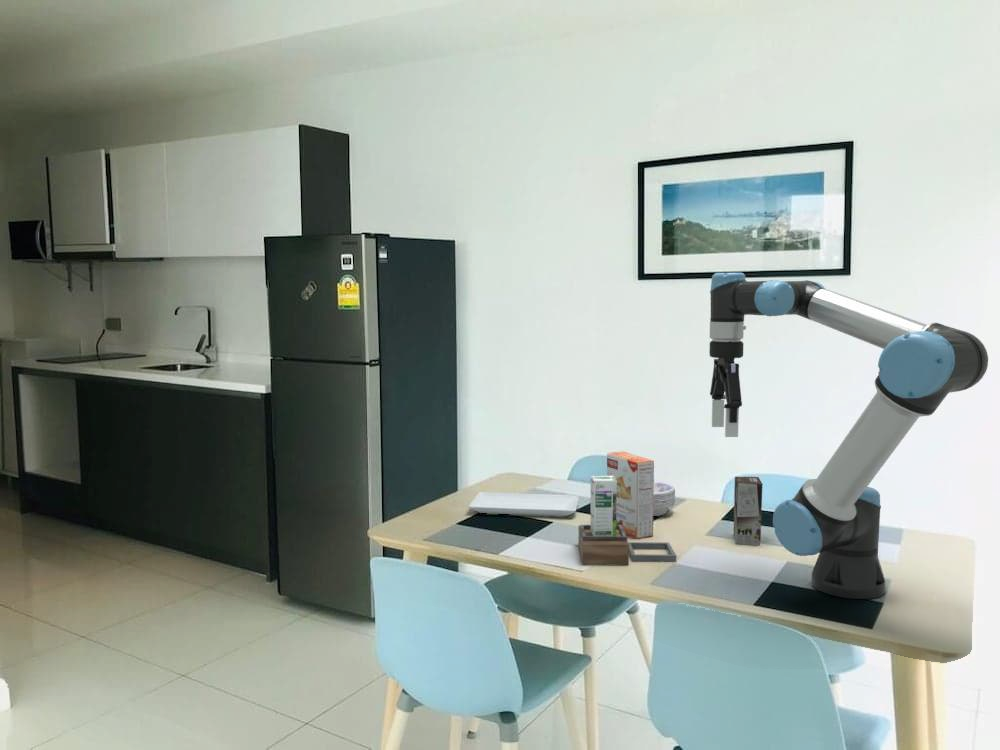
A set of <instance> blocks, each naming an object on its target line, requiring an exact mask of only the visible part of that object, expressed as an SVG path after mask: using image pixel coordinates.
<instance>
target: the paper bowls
mask: <svg viewBox="0 0 1000 750" xmlns="http://www.w3.org/2000/svg"><path fill="white" fill-rule="evenodd" d="M674 505H676V488H675V487H674V486H673V485H671V484H669V483H664V482H657V481H654V494H653V516H657V517H661V515H662V516H664V515H666V514H667V512H668V510H669V508H671V507H673V506H674Z"/></svg>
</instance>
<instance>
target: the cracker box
mask: <svg viewBox="0 0 1000 750" xmlns="http://www.w3.org/2000/svg"><path fill="white" fill-rule="evenodd" d="M654 469H655V460H653V459H649V458H645V457H642V456H639V455H636V454H633V453H630V452H626V451H615V452H613V451H612V452H609V453H608V452H607V453H606V476H612V475H613V476H614V477H615V479H616V481H617V508H616V525H622V527H623V529H624V532H625V534H626V536H630V537H632V538H633V539H635V538H636V539H635V540H639V539H643V538H648V537H653V536H654V517H653V494H654V482H655V480H654V479H655V476H654V475H655V470H654Z"/></svg>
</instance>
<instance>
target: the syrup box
mask: <svg viewBox="0 0 1000 750" xmlns="http://www.w3.org/2000/svg"><path fill="white" fill-rule="evenodd" d="M589 482H590V525H591V533H592V535H593V536H616V508H617V481H616V479H615V477H614V476H613V475H612V476H607V475H591V476H590V481H589Z"/></svg>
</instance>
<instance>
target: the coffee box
mask: <svg viewBox="0 0 1000 750" xmlns="http://www.w3.org/2000/svg"><path fill="white" fill-rule="evenodd" d="M733 491H734V496H733V497H734V499H733V537H734V541H735V544H736V545H752V546H761V536H762V509H763V507H762V506H763V482H762V480H761V479H760V477H759V476H734V490H733Z"/></svg>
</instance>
